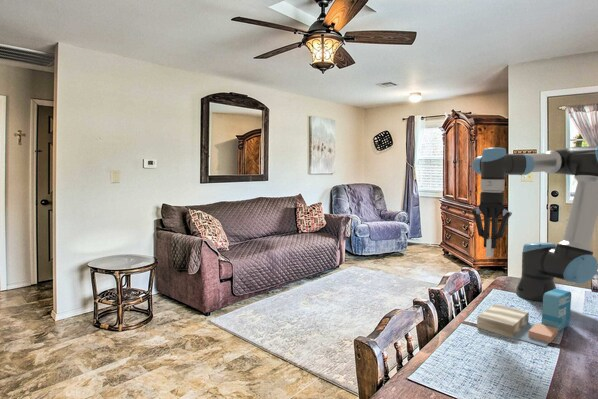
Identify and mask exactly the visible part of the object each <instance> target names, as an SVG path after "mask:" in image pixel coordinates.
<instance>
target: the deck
mask: <svg viewBox="0 0 598 399" xmlns="http://www.w3.org/2000/svg"><path fill="white" fill-rule="evenodd" d="M529 315H530V312H529V311H526V310H523V309H518V308H513V307H510V306H505V305H501V304H497V303H495V304H493V305H492V306H490V307H488V309H485V311H483V312H482V313H480V314H479V315H477V322H476V328H478V329H481V330H484V331H487V332H488V331H489V332H492V333H495V334H498V335H502V336H505V337H508V338H512V339H514V338H513V336H514V335H515V334H516V333H518V332H519V331H520V330H521V329H522V328H523V327H524V326H525V325H526V324H527V323H528V322H529V319H530V318H529Z"/></svg>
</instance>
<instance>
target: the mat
mask: <svg viewBox="0 0 598 399" xmlns="http://www.w3.org/2000/svg"><path fill="white" fill-rule="evenodd" d="M535 324H536V323H533V322H529V321H528V323H527V324H526V325H525V326H524V327H523V328H522V329H521V330H520V331H519V332H518V333H516V334H515V335H514V336H513V338H512V339H515V340H519V341H522V342H525V343H529V344H533V345H536V346H540V347H543V348H547V346H548V345H549V344H550V343H548V342H545V341H541V340H538V339H534V338H531V337H528V335H529V330H530V329H531V328H532V327H533V326H534V325H535ZM559 332H560V331H558V333H559Z"/></svg>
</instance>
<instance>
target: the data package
mask: <svg viewBox="0 0 598 399" xmlns="http://www.w3.org/2000/svg"><path fill="white" fill-rule="evenodd" d="M571 303H572V292H571V291H570V290H564V289H559V288H556V289H553V290H551V291H548V292H546V293H545V294H544V296H543V302H542V310H541V324H543V325H547V326H551V327H554V328H558V331H559V332H560V331H561V330H563V329H564V328H567V327H568V326H569V325H570V320H571V319H570V318H571V307H572V306H571V305H572V304H571Z"/></svg>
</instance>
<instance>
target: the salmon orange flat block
mask: <svg viewBox="0 0 598 399" xmlns="http://www.w3.org/2000/svg"><path fill="white" fill-rule="evenodd" d="M534 324H535V325H534V326H533V327H532V328H531V329H530V330H529V335H528V337H531V338H534V339H538V340H541V341H545V342H548V343H549V344H551V343H552V342H553V341H554V339H556V337H558V334H559V332H558V328H554V327H551V326H547V325H543V324H542V323H539V322H536V323H534Z"/></svg>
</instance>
